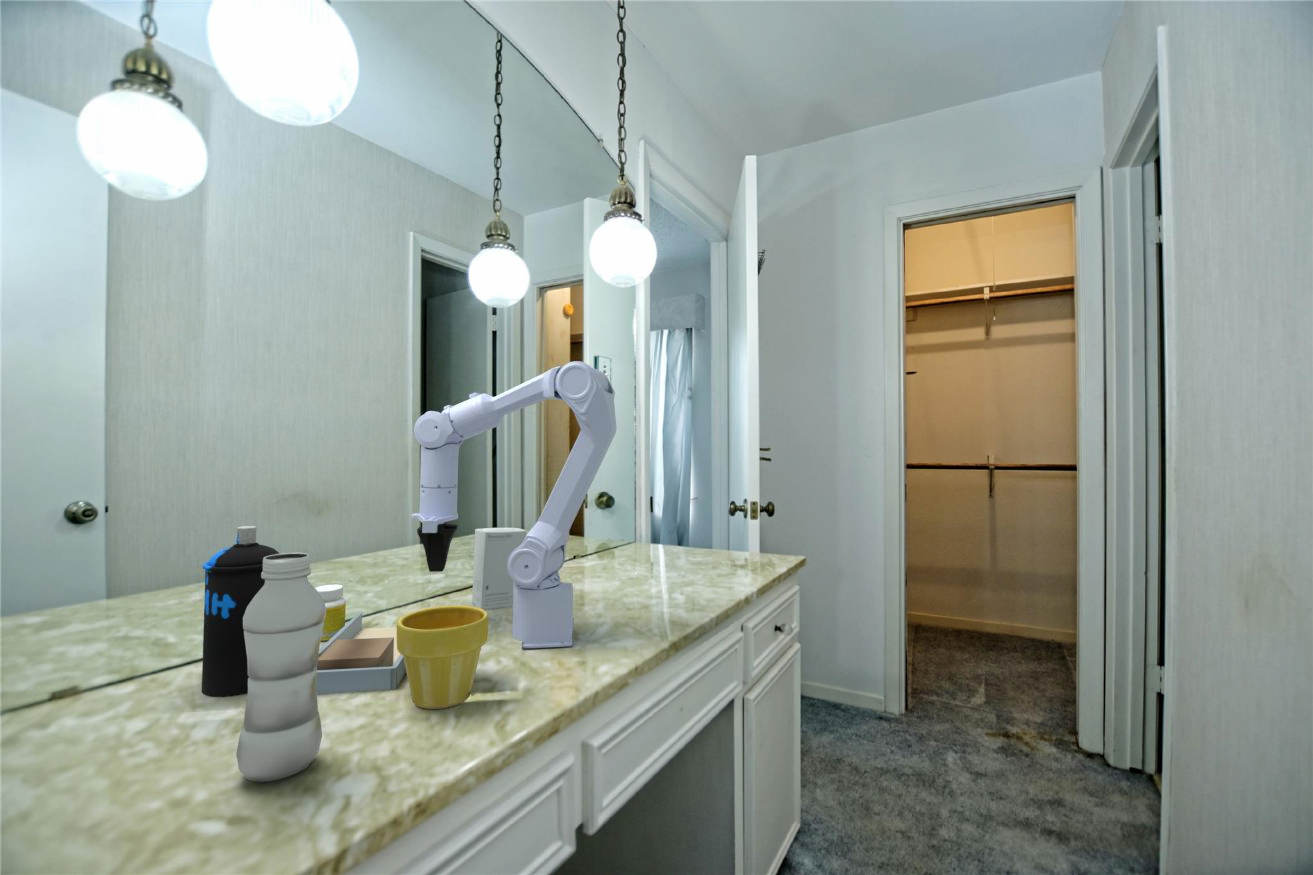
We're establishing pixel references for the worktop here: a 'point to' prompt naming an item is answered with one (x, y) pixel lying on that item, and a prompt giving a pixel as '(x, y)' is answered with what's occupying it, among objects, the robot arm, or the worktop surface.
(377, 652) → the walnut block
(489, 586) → the skincare box
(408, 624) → the plant pot
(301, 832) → the worktop surface
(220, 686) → the aerosol can
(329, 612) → the supplement bottle
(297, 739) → the plastic bottle
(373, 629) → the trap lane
